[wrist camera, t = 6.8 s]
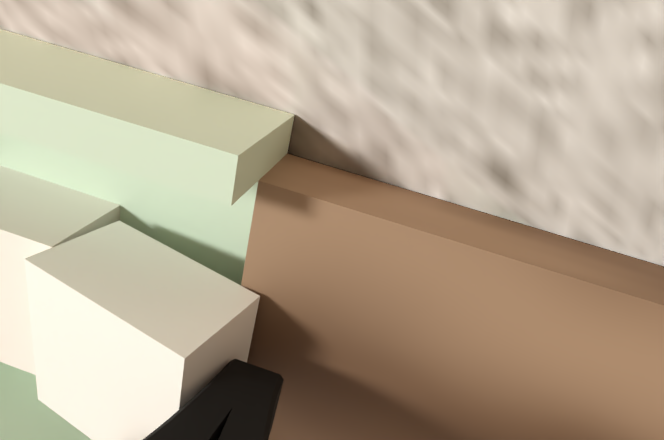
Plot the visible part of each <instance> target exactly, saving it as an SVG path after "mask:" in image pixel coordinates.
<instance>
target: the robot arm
mask: <svg viewBox="0 0 664 440" xmlns="http://www.w3.org/2000/svg"><path fill="white" fill-rule="evenodd" d="M283 381H284V379H283V378H282V376H281V375H280V374H278V373H275V372H272V371H269V370H267V369H264V368H261V367H258V366H255V365H252V364H249V363H246V362H244V361H241V360H238V359H233V360H231V361H230V362H229V363H228V364H227V365H226V366H225V367H224V368H223V369H222V370H221V371H220V372H219V373H218V374H217V375H216V376H215V377H214V378H213V379H212V380H211V381H210V382H209V383H208V384H207V385H206V386H205V387H204V388H203V389H202V390H201V391H200V392H198V393H197V394H196V395H195V396H194V397H193V398H192V399H191V400H190V401H189V402H187V403H186V404H185V405H184V406H183V407H182V408H180V409H179V410H178V411H177V412H176V413H175V414H173V415H172V416H171V417H170V418H169V419H168V420H166V421H165V422H164V423H163V424H162V425H160V426H159V427H158V428H157V429H156V430H154V431H153V432H152V433H150V434H149V435H148V436H147V437H145V438H144V439H143V440H268V439H269V435H270V432H271V429H272V425H273V421H274V417H275V413H276V409H277V405H278V401H279V397H280V393H281V389H282V385H283Z"/></svg>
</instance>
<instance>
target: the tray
mask: <svg viewBox="0 0 664 440" xmlns="http://www.w3.org/2000/svg"><path fill="white" fill-rule="evenodd" d="M294 116H295V115H294V114H291V113H287V112H284V111H280V110H277V109H273V108H270V107H267V106H263V105H260V104H256V103H253V102H249V101H246V100H243V99H239V98H236V97H232V96H229V95H225V94H222V93H219V92H215V91H212V90H208V89H205V88H201V87H198V86H195V85H191V84H188V83H184V82H181V81H177V80H174V79H171V78H167V77H164V76H160V75H157V74H153V73H150V72H147V71H143V70H140V69H136V68H133V67H129V66H126V65H123V64H119V63H116V62H112V61H109V60H105V59H102V58H99V57H95V56H92V55H88V54H85V53H81V52H78V51H75V50H71V49H68V48H64V47H61V46H57V45H54V44H51V43H47V42H44V41H40V40H37V39H33V38H30V37H27V36H23V35H20V34H16V33H13V32H9V31H6V30H3V29H0V166H3V167H6V168H10V169H13V170H16V171H19V172H22V173H25V174H28V175H31V176H34V177H37V178H40V179H43V180H46V181H49V182H52V183H55V184H58V185H61V186H64V187H67V188H70V189H73V190H76V191H79V192H82V193H85V194H88V195H91V196H94V197H97V198H100V199H103V200H106V201H109V202H112V203H115V204H118V205H120V221H121V222H123V223H125V224H127V225H129V226H131V227H132V228H134V229H136V230H138V231H140V232H142V233H144V234H145V235H147V236H149V237H151V238H153V239H155V240H157V241H159V242H160V243H162V244H164V245H166V246H168V247H170V248H172V249H173V250H175V251H177V252H179V253H181V254H183V255H185V256H187V257H188V258H190V259H192V260H194V261H196V262H198V263H200V264H201V265H203V266H205V267H207V268H209V269H211V270H213V271H215V272H216V273H218V274H220V275H222V276H224V277H226V278H228V279H229V280H231V281H233V282H235V283H237V284H239V285H241V282H242V276H243V270H244V264H245V258H246V252H247V246H248V240H249V234H250V228H251V222H252V217H253V211H254V205H255V199H256V193H257V187H258V181H259V180H260V179H261V178H262V177H263V176H264V175H265V174H266V173H267V172H268V171H269V170H270V169H271V168H272V167H274V166H275V165H276V164H277V163H278V162H279V161H280V160H281V159H282V158H283V157H284V156H285V155H286V154H287V153H288V147H289V142H290V137H291V132H292V127H293V122H294ZM0 440H92V439H90V438H89V437H88V436H86V435H85V434H84V433H82V432H81V431H80V430H78V429H77V428H76V427H74V426H73V425H72V424H70V423H69V422H68V421H66V420H65V419H64V418H62V417H61V416H60V415H58V414H57V413H56V412H54V411H53V410H52V409H50V408H49V407H48V406H46V405H45V404H44V403H42V402H41V401H40V400H38V394H37V384H36V375H34V374H32V373H29V372H26V371H24V370H21V369H18V368H16V367H13V366H10V365H8V364H5V363H2V362H0Z"/></svg>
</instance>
